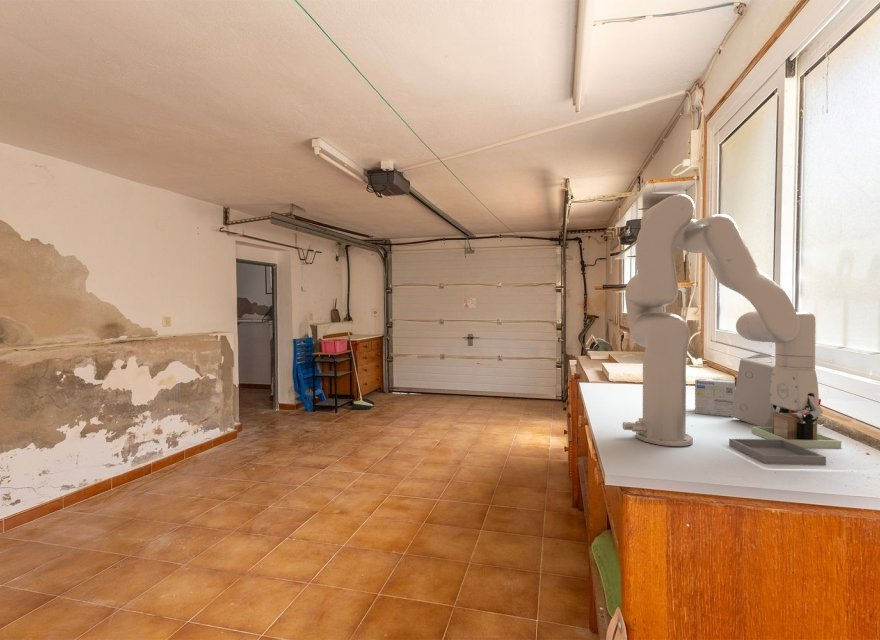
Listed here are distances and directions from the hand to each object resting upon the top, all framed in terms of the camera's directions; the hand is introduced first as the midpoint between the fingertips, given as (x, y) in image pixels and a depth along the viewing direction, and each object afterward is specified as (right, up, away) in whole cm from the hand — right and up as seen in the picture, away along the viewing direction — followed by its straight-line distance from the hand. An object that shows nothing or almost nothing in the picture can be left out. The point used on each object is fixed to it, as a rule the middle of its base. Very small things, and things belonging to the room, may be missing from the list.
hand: (794, 435), depth 105 cm
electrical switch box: (+8, -2, +16) cm, 18 cm away
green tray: (0, -2, 0) cm, 2 cm away
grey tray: (-13, -2, -11) cm, 17 cm away
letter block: (0, -1, 0) cm, 1 cm away
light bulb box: (0, -1, +30) cm, 30 cm away
